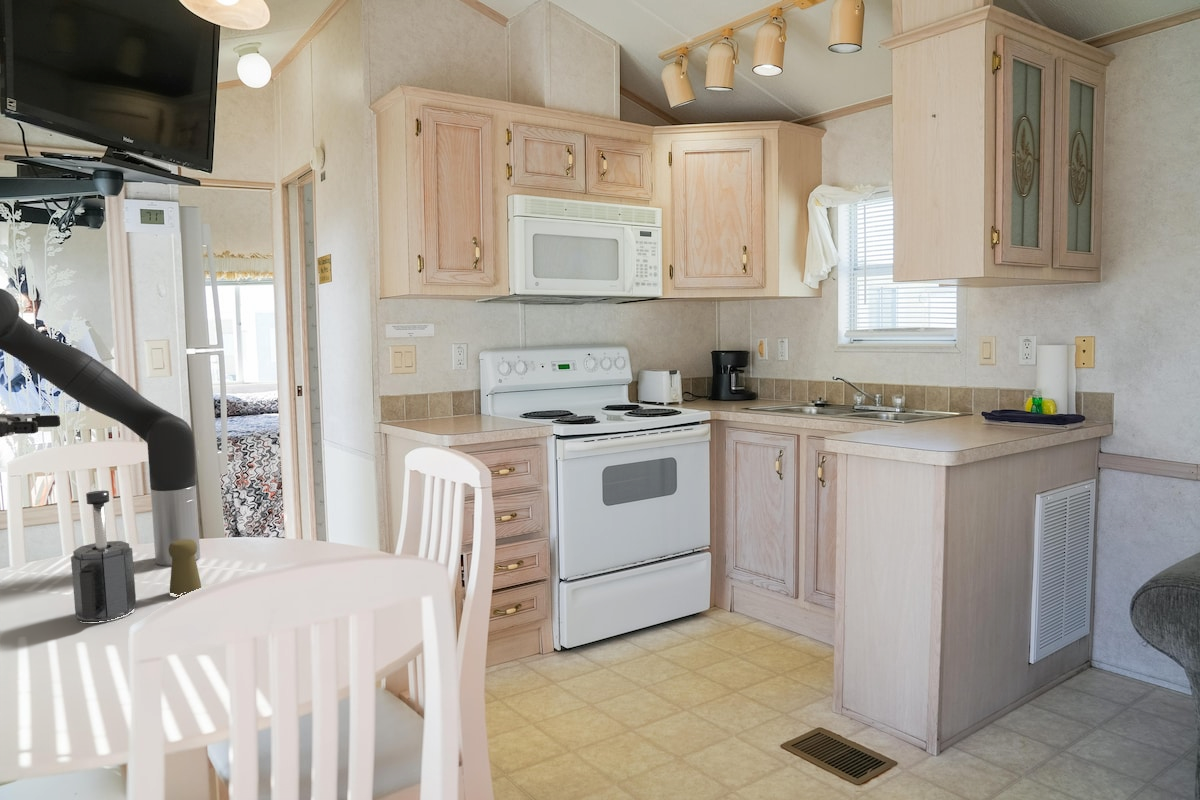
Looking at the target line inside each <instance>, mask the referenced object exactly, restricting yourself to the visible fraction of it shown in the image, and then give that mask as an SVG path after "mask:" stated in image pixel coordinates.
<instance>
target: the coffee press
mask: <svg viewBox="0 0 1200 800" xmlns="http://www.w3.org/2000/svg"><path fill="white" fill-rule="evenodd" d="M70 560H71V561H70V562H71V573H72V574H71V575H72V586H73V599H74V611H75V612H74V613H75V615H76V618H77V621H78V620H79V621H82V622H99V621H107V620H111V619H115V618H117V617H121V616H123V615H126V614H128V613H129V612H131V611H132V610H133V609H134V608H135V609H136V605H137V596H136V585H135V584H136V583H135V570H134V555H133V548H132V547H130V543H127V542H125V541H122V540H114V541H113V540H111V541H107V549H103V550H96V542H94V543H90V544H89V543H88V544H87V545H81V546H79V547H78V548H76V549H75V550H73V555H72V556H71V557H70ZM79 621H78V622H79Z"/></svg>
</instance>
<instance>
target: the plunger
mask: <svg viewBox="0 0 1200 800" xmlns="http://www.w3.org/2000/svg"><path fill="white" fill-rule="evenodd" d="M85 497H86V499H85V500H86V504H87V505H92V510H93V511H92V512H93V525H94V539H95V540H94V541H95V543H96V550H103V549H107V542H108V541H107V539H108V538H107V527H106V514H105V513H106V512H105V504H107V503H109V502H110V493H109V490H94V491H90V492H86V493H85Z"/></svg>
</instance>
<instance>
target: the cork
mask: <svg viewBox="0 0 1200 800" xmlns="http://www.w3.org/2000/svg"><path fill="white" fill-rule="evenodd" d="M196 552H197V544H196V542H195V541H194V540H192V539H180V540H176V541H174V542H172V543H171V544H170V546H169V554H170V556H171V557H172V565H171V567H170V568H171V569H170V580H169V581H170V582H169V583H170V584H169V591H170V593H174V594H177V595H180V594H181V593H183V594H182V595H185V594H187V593H189V592H191V591H194V590H196V589H199V588H201V587H202V582H201V579H200V574H199V569H198V564H197V560H196V559H195V553H196ZM184 592H186V593H184ZM177 595H176V596H177ZM182 595H181V596H182ZM178 597H180V596H178ZM178 597H177V598H176V599H179V598H178Z"/></svg>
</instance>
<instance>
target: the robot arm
mask: <svg viewBox="0 0 1200 800" xmlns="http://www.w3.org/2000/svg"><path fill="white" fill-rule="evenodd" d="M0 350H1V351H2V352H4V353H6V354H9V355H10V356H11V357H13V358H15V359H17V360H18V361H20V362H21V363H23V364H24V365H26V366H27V367H28V368H29V369H31V370H32V371H33V372H34V373H36V374H38V376H40V377H42V378H43V379H45V380H46V381H48V382H49V383H50V384H52V385H53V386H55V387H56V388H57V389H59V390H60V391H62V392H63V393H64V394H66V395H68V396H69V397H71V399H73V400H75V401H77V402H79V403H81V404H82V405H83V406H85V407H88V408H89V409H91V410H93V411H95V412H97V413H100V414H102V415H104V416H106V417H109V418H110V419H113V420H115V421H117V422H118V423H120V424H122V425H124V426H125V427H126V428H127V429H129V430H131V431H132V432H133V433H135V434H136V436H138V437H140V439H142V440H143V441H144V442H146V444H147V455H148V456H147V457H148V472H149V473H148V474H149V484H150V498H151V499H150V501H151V512H152V513H151V514H152V516H151V517H152V528H153V531H152V532H153V541H154V542H153V543H154V560H155V564H157V565H159V566H172V557H171V556H170V554H169V546H170V544H171V543H172V542H174V541H176V540H180V539H192V540H194V541H195V542H196V544H197V552H196V553H195V559H196V561H197V560H199V559H200V558H201V546H200V545H201V543H200V532H199V531H200V530H199V513H198V501H197V485H196V482H197V481H196V475H197V474H196V473H197V472H196V456H195V454H196V453H195V439H194V433H193V430H192V428H191V427H190V425H189V424H188V423H187V421H185V419H183V418H181V417H179V416H177V415H175V414H173V413H171V412H169V411H168V410H166V409H163V408H162V407H160V406H158V405H157V404H155V403H153V402H151V401H149V400H148V399H147V398H146V397H144V396H142V395H141V394H140V393H139V392H138V391H137V390H135V389H134V387H132V386H131V385H130V384H129V383H127V382H126V381H125V380H124V379H122V377H120V375H117V374H116V373H115V372H114V371H112V370H111V369H110V368H108V367H107V366H106V365H104V364H103V363H102V362H100V361H98V360H97V359H96V358H94V357H93V356H91V355H89V354H88V353H87V352H84V351H82V350H80V349H78V348H76V347H74V346H71V345H69V344H66V343H65V342H62V341H58V340H56V339H54V338H52V337H49V336H47V335H46V334H44V333H42V332H41V331H39V330H38V329H36V328H35V327H34V326H32V325H31V324H29V322H27V321H26V320H24V319H23V318H22V317H21V316H20V306H19V303H18V301H17V299H16V297H14V295H12V293H10V292H9V291H7V290H5V289H3V288H0ZM28 419H31V420H28ZM60 426H61V417H60V416H59V415H58V414H53V415H51V414H48V415H47V414H46V415H41V413H12V414H11V413H8V414H7V413H0V438H3V437H8V436H9V437H10V436H13V435H18V434H19V435H21V434H22V435H23V434H37V433H38V432H39V428H58V427H60Z"/></svg>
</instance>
